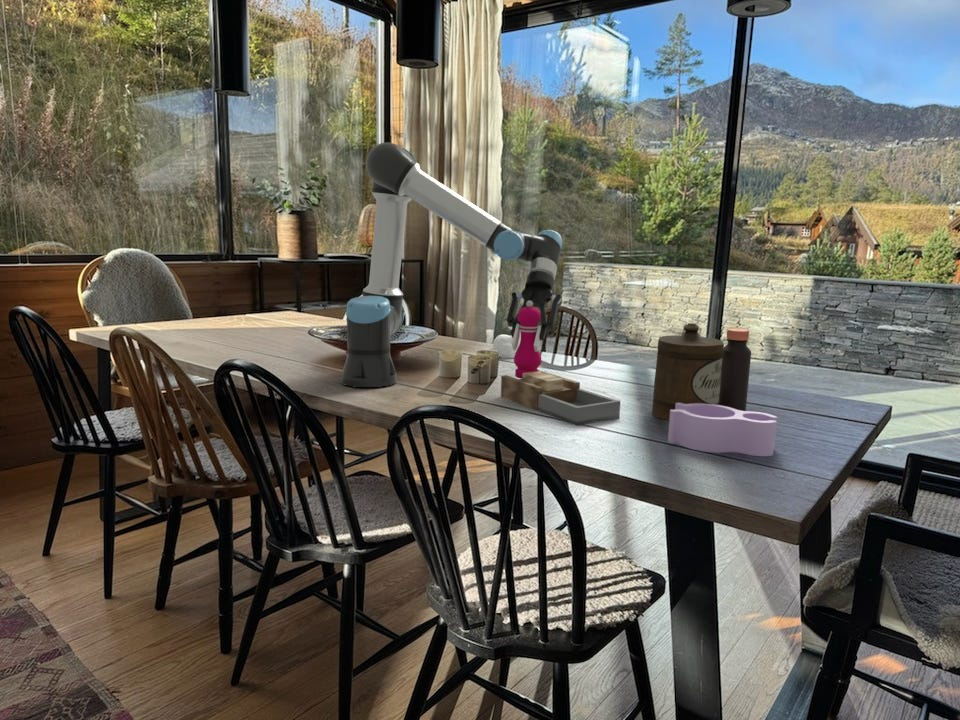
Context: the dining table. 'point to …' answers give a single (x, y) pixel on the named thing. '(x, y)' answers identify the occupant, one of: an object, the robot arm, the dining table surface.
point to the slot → (536, 391)
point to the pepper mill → (527, 341)
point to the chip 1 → (532, 376)
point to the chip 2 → (549, 382)
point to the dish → (581, 408)
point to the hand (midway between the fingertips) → (524, 347)
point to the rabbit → (505, 345)
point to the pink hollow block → (722, 429)
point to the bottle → (735, 370)
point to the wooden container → (686, 371)
